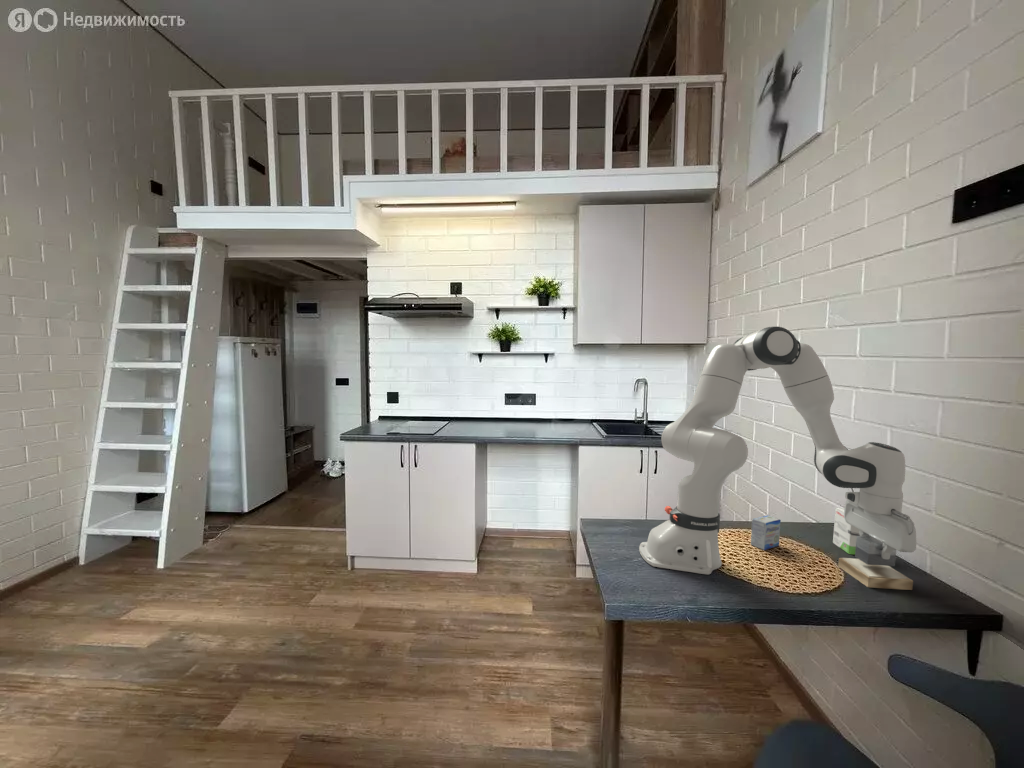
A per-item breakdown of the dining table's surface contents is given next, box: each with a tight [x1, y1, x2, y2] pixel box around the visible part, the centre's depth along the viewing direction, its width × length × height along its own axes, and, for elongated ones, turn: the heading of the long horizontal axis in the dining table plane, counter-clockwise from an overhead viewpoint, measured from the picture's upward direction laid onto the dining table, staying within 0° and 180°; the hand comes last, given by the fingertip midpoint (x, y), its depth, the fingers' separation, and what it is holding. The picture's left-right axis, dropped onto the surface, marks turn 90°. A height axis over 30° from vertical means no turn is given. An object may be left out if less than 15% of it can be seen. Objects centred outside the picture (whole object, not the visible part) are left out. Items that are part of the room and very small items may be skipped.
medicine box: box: [750, 515, 782, 551], centre depth 133 cm, size 8×4×9 cm, turn 117°
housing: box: [854, 535, 897, 567], centre depth 115 cm, size 4×7×6 cm, turn 86°
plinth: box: [837, 557, 914, 591], centre depth 115 cm, size 11×11×3 cm
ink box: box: [832, 507, 860, 556], centre depth 133 cm, size 9×5×12 cm, turn 171°
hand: (875, 552), depth 115 cm, fingers closed on housing, 4 cm apart
